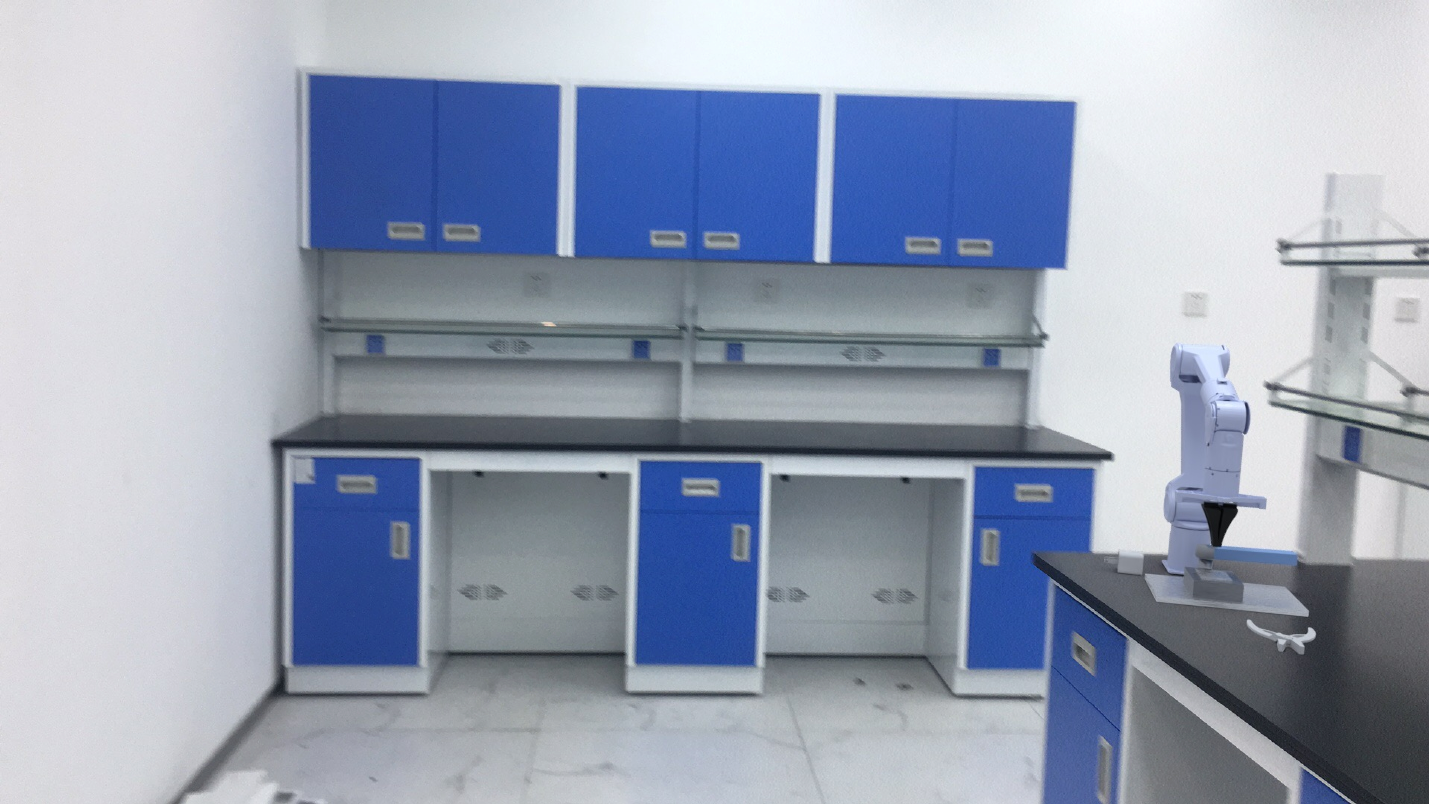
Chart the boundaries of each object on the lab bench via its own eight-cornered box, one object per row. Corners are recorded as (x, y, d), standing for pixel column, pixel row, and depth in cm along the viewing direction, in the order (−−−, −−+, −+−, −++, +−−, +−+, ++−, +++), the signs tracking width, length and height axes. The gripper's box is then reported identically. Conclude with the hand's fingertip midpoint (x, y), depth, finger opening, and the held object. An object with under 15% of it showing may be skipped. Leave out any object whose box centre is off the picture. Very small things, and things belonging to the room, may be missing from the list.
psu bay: (1144, 578, 208) (1146, 552, 207) (1284, 592, 202) (1287, 564, 202) (1156, 601, 192) (1158, 572, 192) (1308, 616, 187) (1311, 587, 186)
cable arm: (1197, 558, 202) (1198, 547, 202) (1193, 553, 206) (1194, 543, 205) (1297, 566, 199) (1298, 555, 199) (1290, 561, 203) (1291, 550, 202)
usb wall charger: (1142, 576, 210) (1143, 555, 210) (1103, 572, 212) (1104, 551, 212) (1141, 571, 214) (1142, 550, 213) (1102, 567, 216) (1104, 547, 216)
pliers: (1313, 622, 179) (1328, 650, 165) (1312, 632, 179) (1327, 660, 165) (1246, 614, 183) (1255, 640, 169) (1245, 623, 183) (1254, 650, 169)
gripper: (1181, 469, 192) (1175, 546, 193) (1273, 476, 188) (1266, 554, 190) (1175, 463, 199) (1169, 538, 200) (1263, 469, 195) (1256, 545, 197)
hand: (1216, 545), depth 195 cm, fingers closed
